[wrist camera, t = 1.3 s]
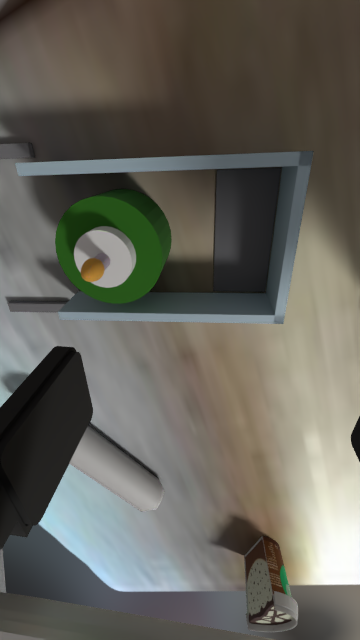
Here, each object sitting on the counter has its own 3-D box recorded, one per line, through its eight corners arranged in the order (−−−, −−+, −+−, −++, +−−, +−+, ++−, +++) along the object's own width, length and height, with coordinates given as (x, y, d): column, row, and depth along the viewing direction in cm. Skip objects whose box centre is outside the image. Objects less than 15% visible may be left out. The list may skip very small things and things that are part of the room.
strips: (31, 143, 23) (27, 142, 22) (73, 309, 30) (71, 312, 30) (-47, 146, 23) (-53, 146, 23) (14, 309, 31) (10, 311, 30)
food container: (270, 565, 57) (280, 637, 48) (241, 558, 57) (247, 630, 48) (297, 539, 51) (315, 617, 42) (265, 532, 50) (277, 609, 42)
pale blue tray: (295, 152, 21) (313, 150, 17) (272, 300, 28) (283, 323, 24) (47, 162, 23) (14, 163, 19) (79, 298, 30) (60, 319, 26)
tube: (172, 505, 42) (38, 408, 33) (145, 526, 42) (6, 435, 34) (168, 475, 47) (50, 384, 38) (144, 494, 47) (23, 408, 39)
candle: (75, 258, 27) (12, 303, 19) (96, 171, 23) (29, 178, 15) (152, 292, 28) (127, 350, 20) (186, 214, 24) (172, 245, 16)
